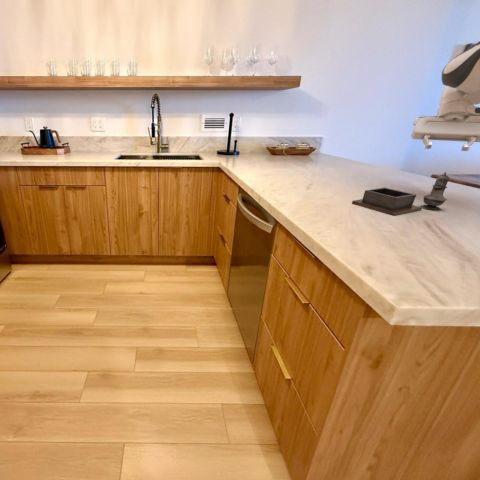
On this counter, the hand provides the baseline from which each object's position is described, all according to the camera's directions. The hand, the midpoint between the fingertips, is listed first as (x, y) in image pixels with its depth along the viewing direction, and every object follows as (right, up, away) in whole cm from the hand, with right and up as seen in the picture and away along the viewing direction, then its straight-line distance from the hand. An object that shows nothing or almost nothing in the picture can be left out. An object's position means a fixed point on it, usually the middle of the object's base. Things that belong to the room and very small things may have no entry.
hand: (446, 148), depth 97 cm
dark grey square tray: (-21, -20, 0) cm, 28 cm away
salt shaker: (-6, -21, -1) cm, 22 cm away
